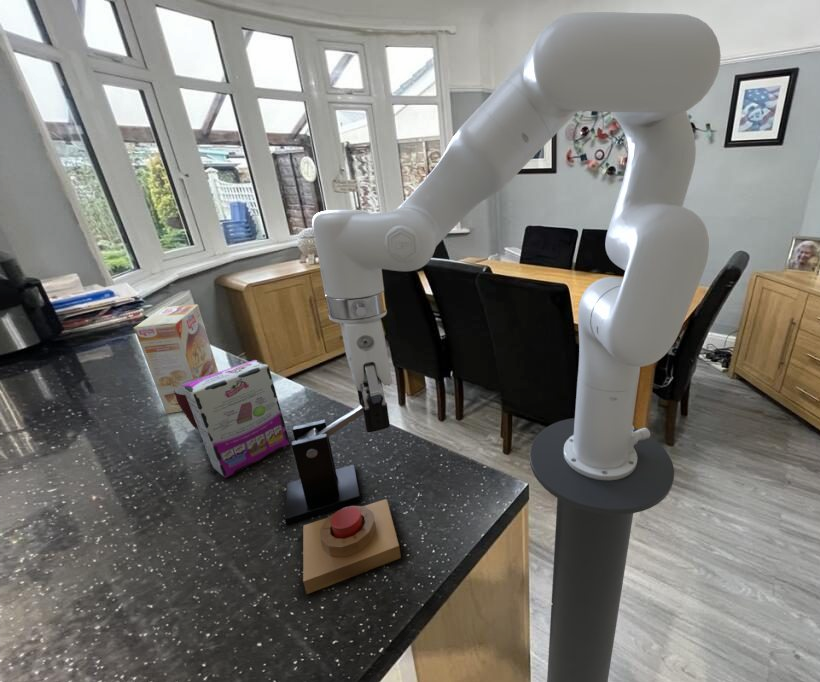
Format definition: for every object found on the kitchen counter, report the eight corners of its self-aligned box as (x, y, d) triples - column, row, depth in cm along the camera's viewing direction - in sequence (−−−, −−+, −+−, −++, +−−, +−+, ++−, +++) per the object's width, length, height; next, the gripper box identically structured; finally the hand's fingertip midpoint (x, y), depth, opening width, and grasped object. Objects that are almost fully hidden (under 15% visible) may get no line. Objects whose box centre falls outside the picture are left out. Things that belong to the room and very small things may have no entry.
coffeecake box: (205, 408, 85) (176, 323, 77) (164, 415, 82) (130, 327, 75) (222, 378, 98) (199, 303, 90) (187, 383, 95) (160, 306, 88)
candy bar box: (276, 435, 75) (255, 358, 69) (291, 444, 73) (270, 364, 67) (210, 468, 67) (179, 383, 61) (224, 479, 64) (193, 391, 58)
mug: (211, 413, 83) (197, 370, 79) (252, 409, 84) (240, 367, 80) (181, 443, 73) (163, 396, 69) (228, 439, 74) (213, 393, 71)
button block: (388, 510, 58) (385, 488, 57) (400, 558, 51) (397, 535, 49) (306, 537, 54) (300, 515, 52) (306, 594, 46) (299, 570, 45)
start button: (360, 512, 53) (359, 502, 53) (364, 532, 50) (362, 522, 50) (332, 522, 52) (329, 512, 51) (334, 543, 49) (331, 532, 48)
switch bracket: (355, 470, 66) (343, 410, 62) (360, 502, 60) (348, 437, 55) (288, 488, 62) (271, 426, 58) (286, 525, 56) (267, 457, 51)
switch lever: (385, 399, 62) (374, 384, 60) (389, 408, 59) (377, 394, 58) (309, 448, 59) (295, 434, 58) (309, 461, 57) (295, 446, 55)
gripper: (397, 319, 48) (411, 439, 55) (375, 287, 62) (388, 385, 69) (331, 328, 45) (354, 454, 52) (324, 293, 59) (343, 395, 66)
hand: (374, 414), depth 60 cm, fingers open, 7 cm apart
